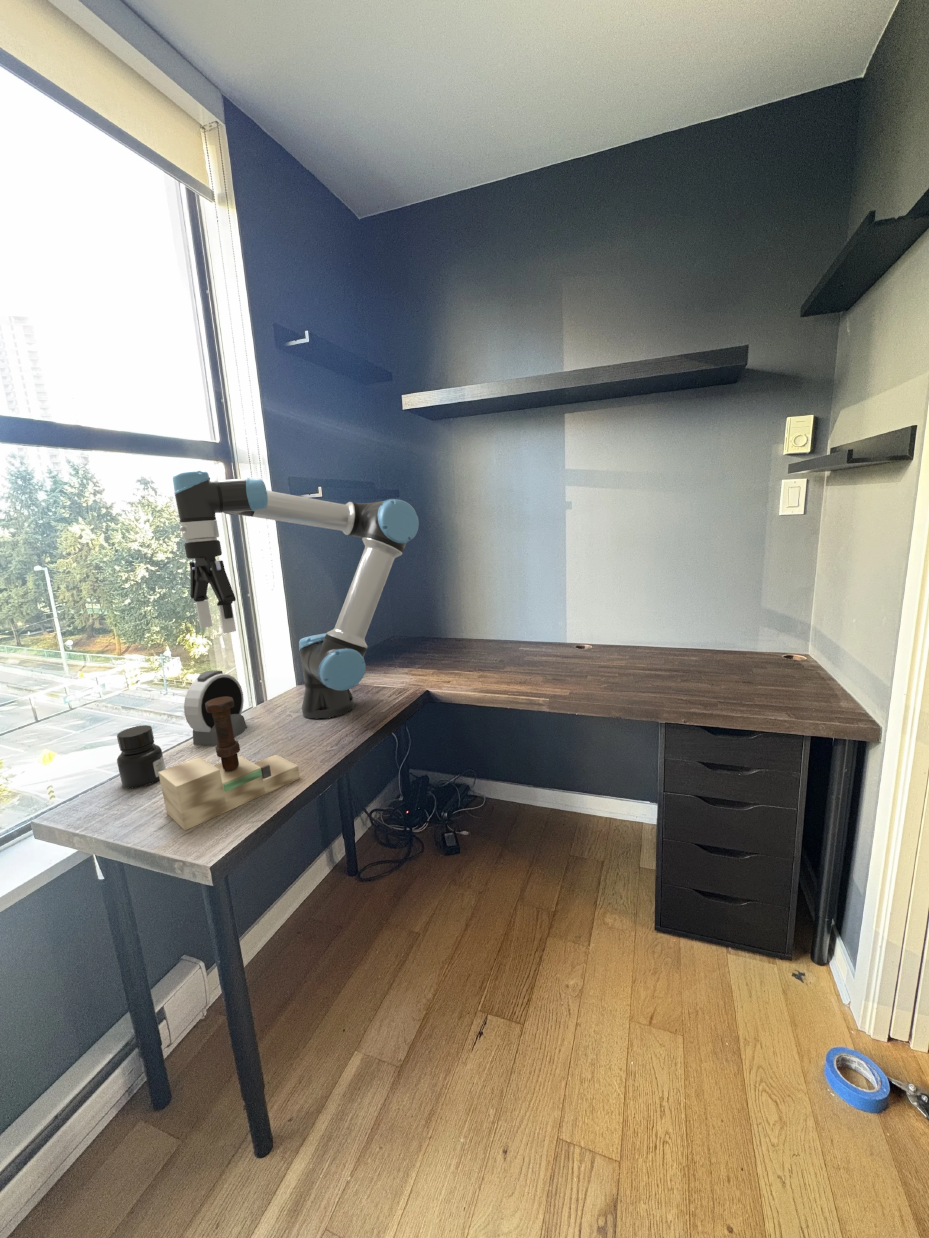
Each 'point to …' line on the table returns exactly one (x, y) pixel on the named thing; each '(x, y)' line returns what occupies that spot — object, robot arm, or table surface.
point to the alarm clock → (205, 690)
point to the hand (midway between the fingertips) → (217, 629)
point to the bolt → (224, 731)
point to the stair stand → (219, 786)
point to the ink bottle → (139, 757)
